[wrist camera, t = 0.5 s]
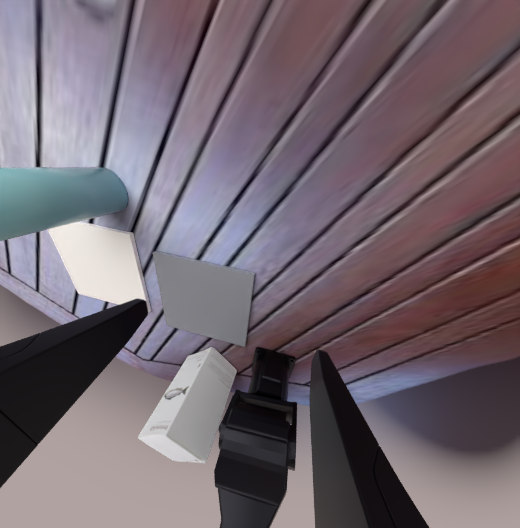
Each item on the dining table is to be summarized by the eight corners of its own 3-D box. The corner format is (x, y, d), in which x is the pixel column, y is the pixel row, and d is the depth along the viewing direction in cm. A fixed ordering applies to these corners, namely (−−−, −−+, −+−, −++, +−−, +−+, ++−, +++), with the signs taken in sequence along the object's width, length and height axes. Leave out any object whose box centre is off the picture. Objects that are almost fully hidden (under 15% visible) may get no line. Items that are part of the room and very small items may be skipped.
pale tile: (151, 310, 31) (148, 312, 31) (81, 291, 33) (78, 293, 32) (133, 232, 24) (129, 234, 24) (46, 214, 26) (40, 215, 25)
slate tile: (245, 343, 30) (244, 346, 29) (168, 322, 32) (166, 325, 31) (255, 272, 23) (254, 275, 23) (155, 250, 25) (152, 252, 24)
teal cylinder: (132, 214, 23) (-32, 261, 12) (98, 207, 24) (-89, 246, 12) (122, 170, 20) (-98, 176, 9) (84, 164, 21) (-165, 162, 10)
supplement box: (212, 344, 32) (165, 436, 21) (238, 370, 34) (207, 465, 23) (187, 354, 35) (134, 438, 24) (212, 377, 37) (174, 464, 26)
